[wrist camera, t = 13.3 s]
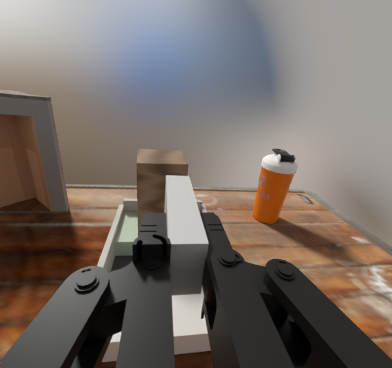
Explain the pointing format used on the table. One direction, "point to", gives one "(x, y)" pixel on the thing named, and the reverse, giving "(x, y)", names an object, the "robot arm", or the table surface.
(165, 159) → the walnut block
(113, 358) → the box
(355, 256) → the table surface
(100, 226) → the table surface
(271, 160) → the shaker bottle
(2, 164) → the cabinet
